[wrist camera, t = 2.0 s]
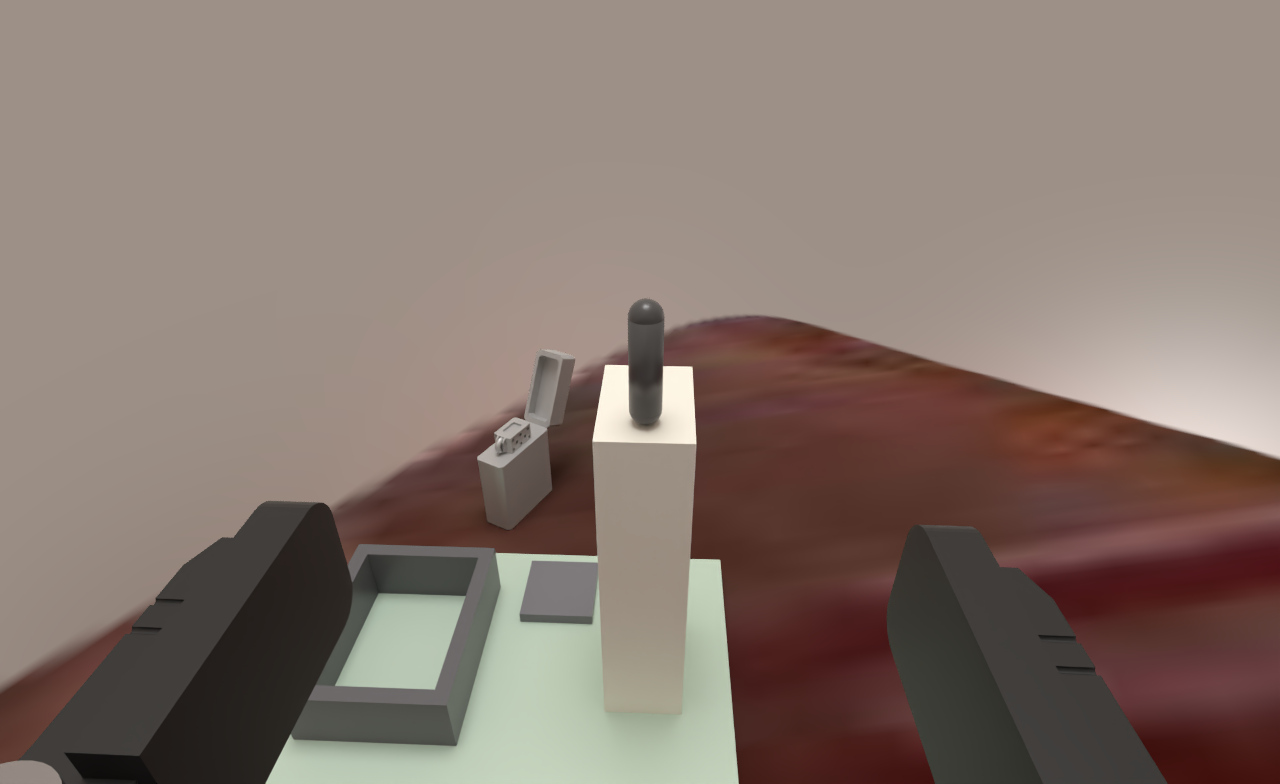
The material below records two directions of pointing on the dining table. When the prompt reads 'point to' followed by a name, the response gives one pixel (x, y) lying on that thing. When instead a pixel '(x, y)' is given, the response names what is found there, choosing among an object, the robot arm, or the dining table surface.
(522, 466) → the lighter
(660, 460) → the cream rectangular pillar
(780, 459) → the dining table surface
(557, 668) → the board
